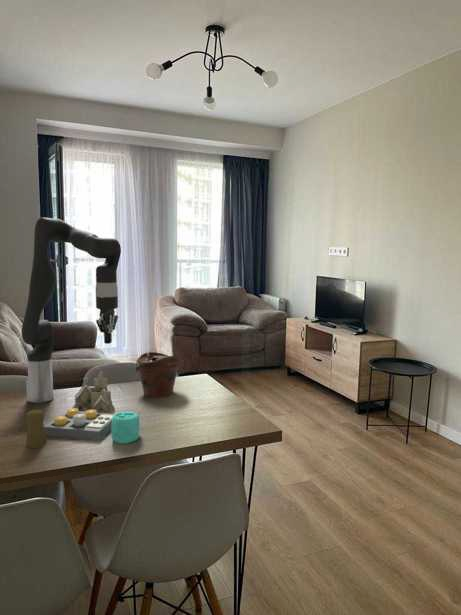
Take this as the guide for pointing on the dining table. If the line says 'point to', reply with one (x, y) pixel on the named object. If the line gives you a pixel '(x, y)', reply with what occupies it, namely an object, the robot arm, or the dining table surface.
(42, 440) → the olive rounded cylinder
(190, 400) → the dining table surface
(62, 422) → the amber button
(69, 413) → the amber button
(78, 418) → the white button
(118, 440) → the decorative dice
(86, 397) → the ceramic cottage
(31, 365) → the robot arm
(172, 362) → the brown tapered round container
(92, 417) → the amber button
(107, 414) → the button board
